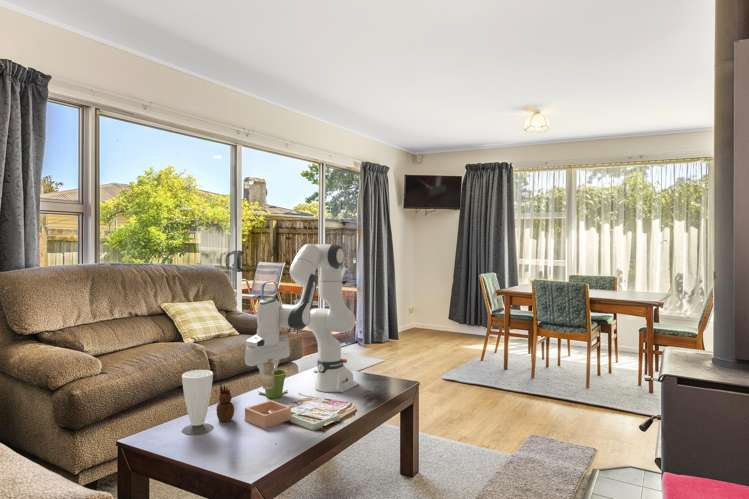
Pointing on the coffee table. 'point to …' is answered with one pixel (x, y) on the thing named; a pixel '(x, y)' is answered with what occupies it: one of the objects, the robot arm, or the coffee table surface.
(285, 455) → the coffee table surface
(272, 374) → the beech peg
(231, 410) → the wooden figurine
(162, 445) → the coffee table surface
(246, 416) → the frame
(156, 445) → the coffee table surface
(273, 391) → the plant pot
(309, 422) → the sage tray
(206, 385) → the cup
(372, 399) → the coffee table surface
